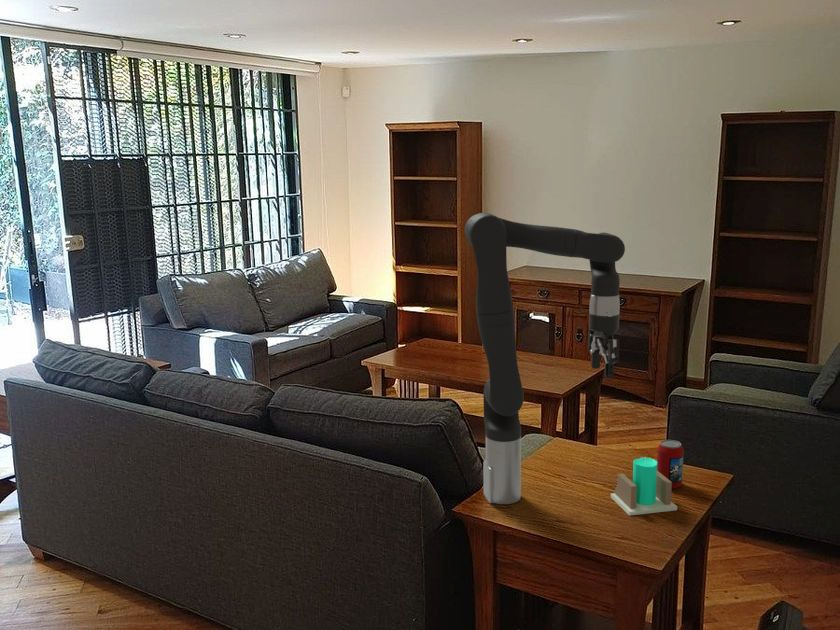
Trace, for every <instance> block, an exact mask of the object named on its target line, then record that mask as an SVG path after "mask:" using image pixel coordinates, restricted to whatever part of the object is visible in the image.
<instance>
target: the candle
mask: <svg viewBox="0 0 840 630" xmlns="http://www.w3.org/2000/svg"><path fill="white" fill-rule="evenodd" d="M632 463H633V465H632V466H633V467H632V469H633V470H632V482H633V483H634V484H635V485H636V486H637V497H636V503H638V504H641V505H652V504H654V503H655V501H656V480H657V459H653V458H651V457H647V456H646V455H645V457H640V458H636V459H633V462H632Z"/></svg>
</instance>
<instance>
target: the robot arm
mask: <svg viewBox="0 0 840 630" xmlns="http://www.w3.org/2000/svg"><path fill="white" fill-rule="evenodd" d="M464 236H465V238H466V240H467V242H468V243H469V244H470V246H472V249H473V253H474V258H475V265H476V270H477V281H476V282H477V283H476V293H475V295H476V297H475V309H476V311H475V312H476V319H477V320H476V321H477V325H478V328H477V329H478V331H479V337H480V340H481V344H482V348H483V351H484V354H485V357H486V361H487V365H488V371H489V378H488V379H487V380H486V382H485V384H484V387H483V395H482V396H483V398H482V399H483V423H484V428H485V460H483V464H482V465H483V468H482V469H483V471H482V473H483V475H482V476H483V496H484V498H485V499H486V500H487V502H488V503H489V504H498V505H510V504H511V505H512V504H515V503H517V502H519V501H520V500H521V496H522V495H521V494H522V478H521V477H522V471H521V469H522V426H521V421H520V414H519V411H520V410H521V408H522V407H523V405H524V399H525V394H524V389H523V385H522V380H521V375H520V371H519V365H518V360H517V359H518V358H517V336H516V325H515V324H516V323H515V313H514V306H513V305H514V303H513V298H512V291H511V286H510V279H509V273H508V266H507V265H508V263H507V261H508V260H507V248H517V249H524V250H529V251H534V252H537V253H542V254H545V255H546V254H547V255H552V256H557V257H558V256H559V257H566V258H567V257H568V258H577V259H578V258H580V259H585V260H589V268H590V273H591V283H590V284H591V285H590V298H589V313H588V315H589V316H588V318H589V319H588V335H587V351H589V352H590V353H589V354H590V355H591V359H590V360H591V363H590V365H591V366H590V368H592V369H593V370H595V369H596V370H597V369H600V368H601V356H602V357H603V359H604V374H603V375H604V377H605V378H607V379H610V378H613V377H614V374H615V363H619V362H620V339H619V338H618V339H617V338H615V339H614V333H615V332H617V331H618V330H619V328H620V307H621V306H620V304H621V303H620V282H621V281H620V279H621V278H620V275H619V272H617V269H616V268H617V267H616V262H618V261H620V260H621V258H623V256H624V255H625V251H626V247H625V243H624V241H623V240H622V239H621V238H620V237H619V236H617V235H615V234H612V233H608V232H598V233H593V232H587V231H582V230H580V229H575V228H567V227H560V226H551V225H550V226H548V225H539V224H528V223H522V222H516V221H511V220H508V219H504V218H501V217H498V216H496V215H494V214H492V213H488V212H479V213H476V214H474V215H472V216H471V217H470V218H469V219H468V220H467V221H466V224H465V226H464Z"/></svg>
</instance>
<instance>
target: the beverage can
mask: <svg viewBox="0 0 840 630" xmlns="http://www.w3.org/2000/svg"><path fill="white" fill-rule="evenodd" d="M684 453H685V449H684V448H683V446H682V443H681V442H680V441H678V440H674V439H663V440H660V443H659V445H658V447H657V455H656V456H657V457H656V461H657V471H658V472H660V473H661V474H662V475H663V476H665V477H666V478H667V479H668V480H670V481H671V482H672V489H677V488H678V487H681V486H683V485H682V484H683V475H684V474H683V473H684V469H683V468H684ZM672 489H671V490H672Z"/></svg>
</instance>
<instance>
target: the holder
mask: <svg viewBox="0 0 840 630" xmlns="http://www.w3.org/2000/svg"><path fill="white" fill-rule="evenodd" d="M616 478H617V482H616V483H617V484H616V486H615V490H614V492H613V493H610V498H611V499H612V500H613V501H614V502H615V503H616V504H617V505H618V506H619V507H620V508H621V509H622V510H623V511H624V512H625V513H626V514H627V515H628V516H637V515H646V514H655V513H662V512H672V511H673V512H674V511H678V506H677V505H676V504H675V503H674V502H673V501H672V482H671V481H670V480H668V479H667V478H666V477H665V476H663V475H662V474H661V473H660V472H658V471H657V480H656V501H655V503H654V504H652V505H641V504H638V503H636V497H637V486H636V485H635V484H634V483H633V480H631V479H629V478H628V477H627V476H626V475H625V474H624V473H617V477H616Z"/></svg>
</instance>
